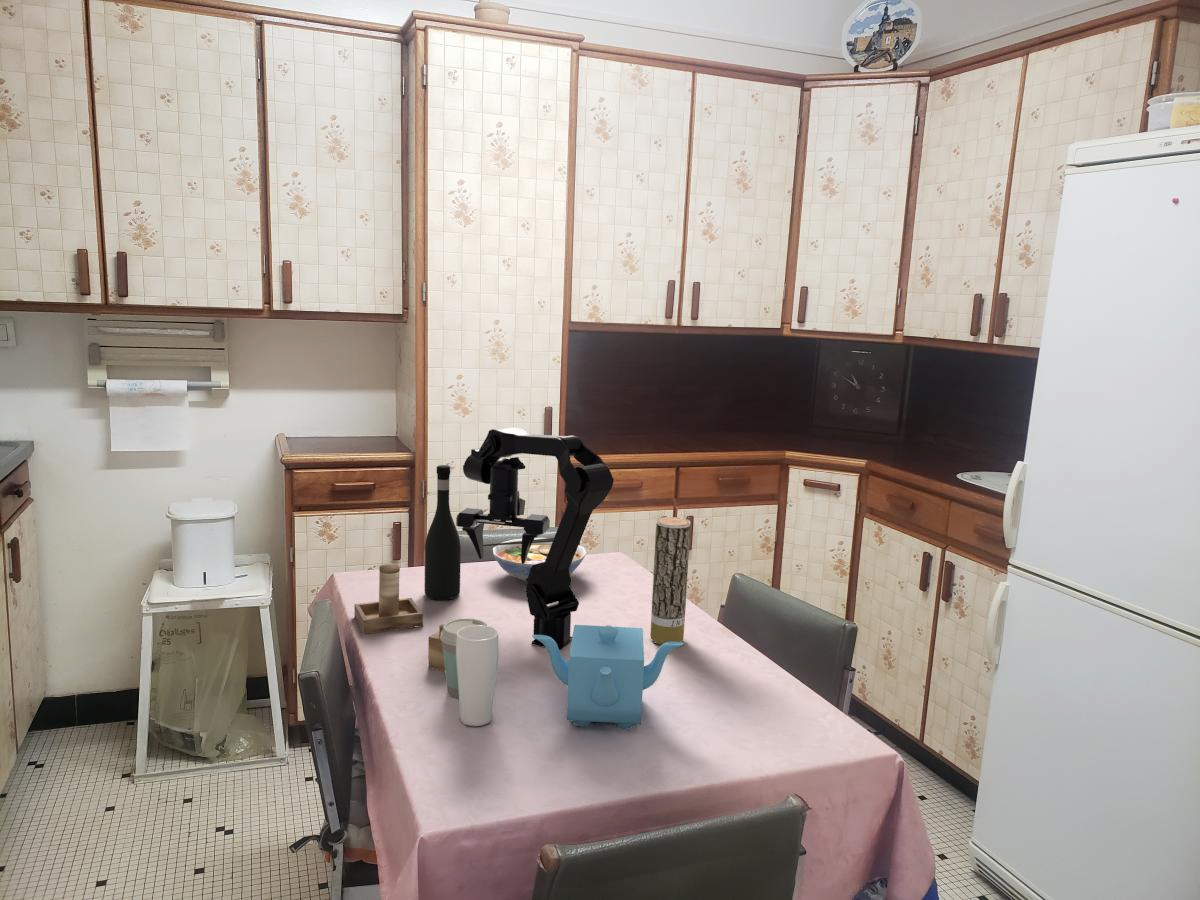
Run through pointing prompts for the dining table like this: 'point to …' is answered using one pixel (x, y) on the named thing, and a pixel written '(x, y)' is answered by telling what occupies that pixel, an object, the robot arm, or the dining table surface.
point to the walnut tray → (373, 623)
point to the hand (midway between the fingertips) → (502, 560)
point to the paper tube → (670, 579)
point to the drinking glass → (476, 672)
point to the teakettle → (606, 673)
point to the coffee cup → (453, 651)
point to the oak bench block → (436, 651)
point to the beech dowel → (389, 590)
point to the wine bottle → (442, 546)
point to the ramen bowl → (528, 556)
